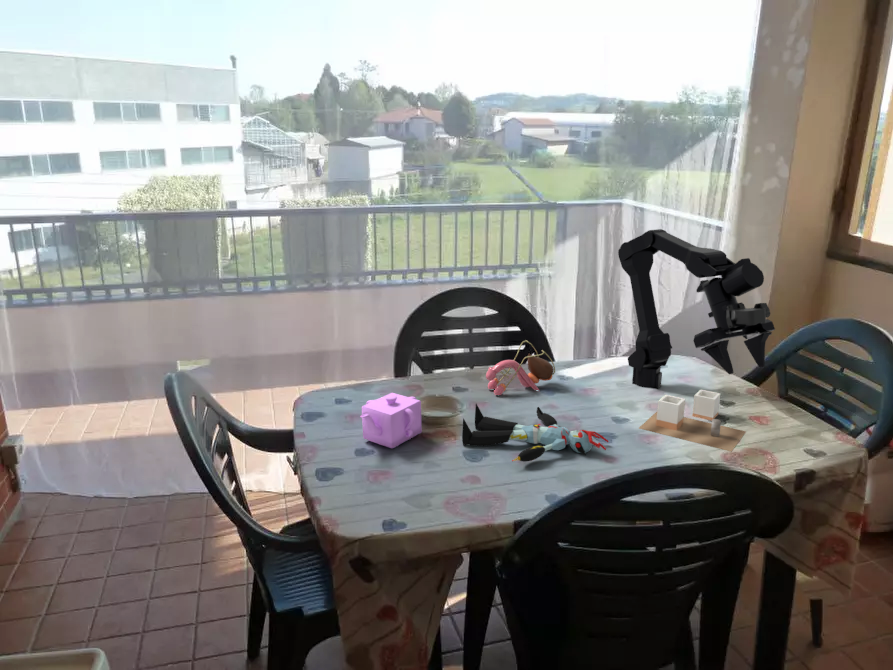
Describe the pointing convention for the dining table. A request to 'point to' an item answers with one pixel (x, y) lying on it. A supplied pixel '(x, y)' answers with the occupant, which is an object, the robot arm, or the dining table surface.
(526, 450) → the toy
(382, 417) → the teapot
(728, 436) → the pin board
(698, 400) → the sleeve loose
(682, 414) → the sleeve seated
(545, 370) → the anatomy model
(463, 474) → the dining table surface
